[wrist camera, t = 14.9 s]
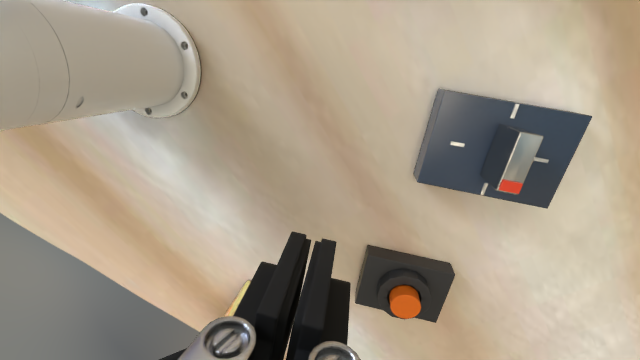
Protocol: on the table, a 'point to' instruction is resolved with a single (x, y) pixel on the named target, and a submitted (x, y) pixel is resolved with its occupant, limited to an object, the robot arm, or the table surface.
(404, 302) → the button
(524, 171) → the knob
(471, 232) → the table surface
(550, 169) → the console
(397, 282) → the button box
